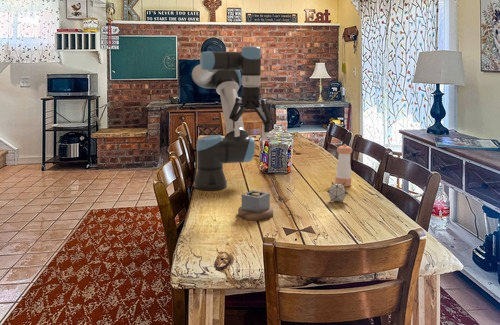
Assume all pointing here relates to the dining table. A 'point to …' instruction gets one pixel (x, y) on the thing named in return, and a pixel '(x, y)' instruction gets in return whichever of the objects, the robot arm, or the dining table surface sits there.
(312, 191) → the dining table surface
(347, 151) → the pepper shaker
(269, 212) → the round base with post
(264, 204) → the hollow square box
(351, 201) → the dining table surface
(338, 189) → the game die
